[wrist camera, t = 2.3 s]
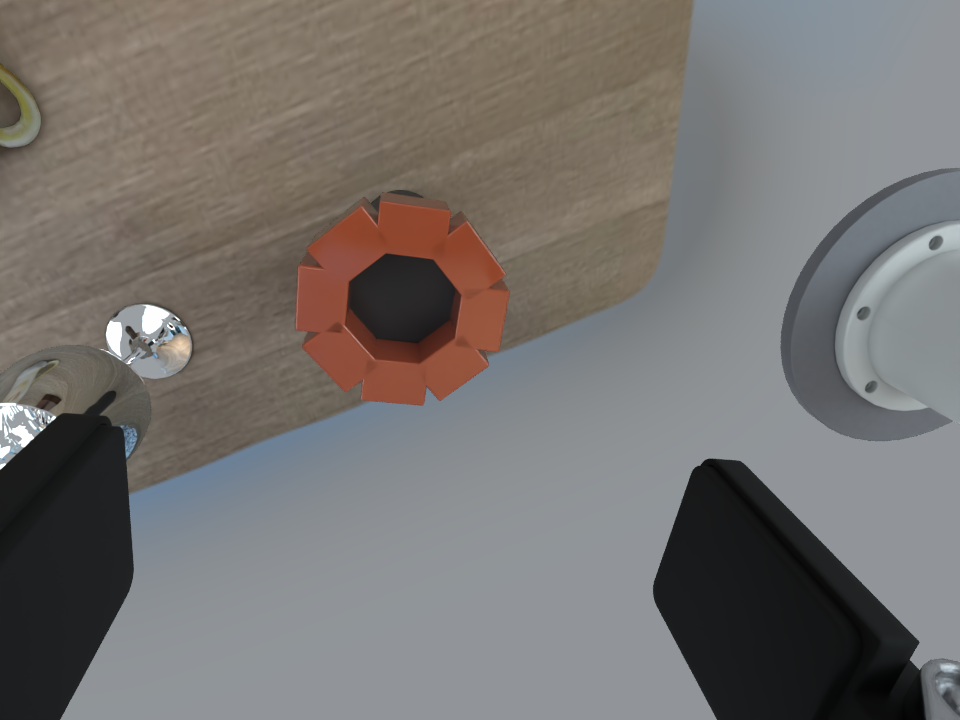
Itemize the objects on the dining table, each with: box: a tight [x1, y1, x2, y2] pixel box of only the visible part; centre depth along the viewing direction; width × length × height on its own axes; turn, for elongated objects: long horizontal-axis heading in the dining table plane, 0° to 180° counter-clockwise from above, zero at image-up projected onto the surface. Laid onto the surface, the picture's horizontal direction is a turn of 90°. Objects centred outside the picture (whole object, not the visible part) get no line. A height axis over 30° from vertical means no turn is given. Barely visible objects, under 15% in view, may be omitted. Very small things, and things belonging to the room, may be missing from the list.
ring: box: [295, 192, 510, 405], centre depth 20 cm, size 7×7×2 cm
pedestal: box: [350, 190, 455, 343], centre depth 27 cm, size 4×4×12 cm
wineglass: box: [0, 303, 192, 469], centre depth 27 cm, size 6×6×12 cm
